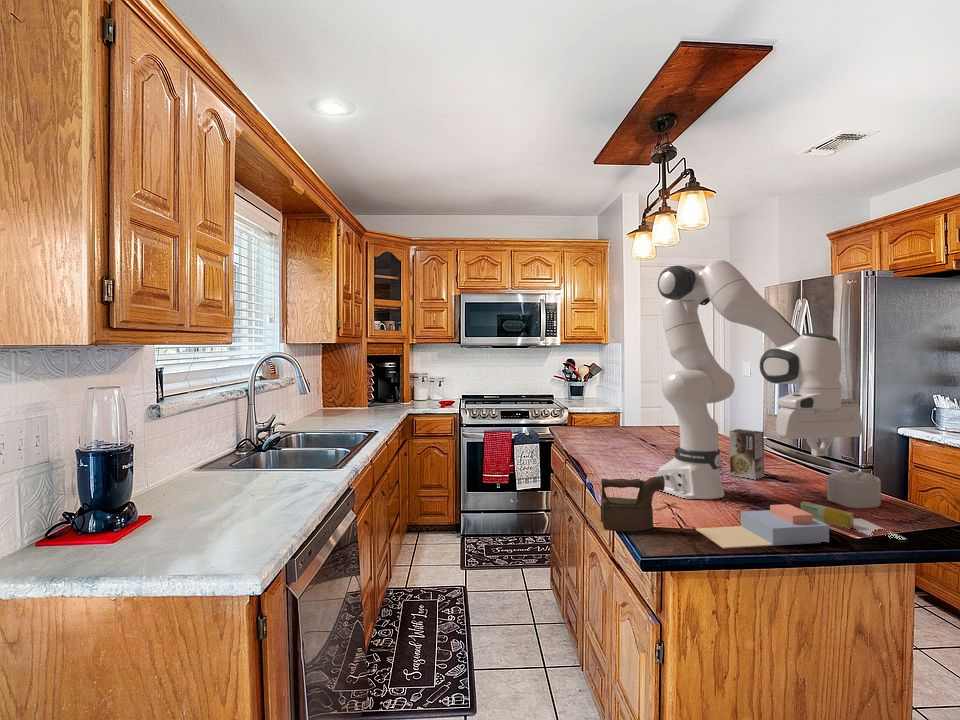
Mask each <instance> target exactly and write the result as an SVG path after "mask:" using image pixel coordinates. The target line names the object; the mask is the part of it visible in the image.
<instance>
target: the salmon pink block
mask: <svg viewBox="0 0 960 720" xmlns="http://www.w3.org/2000/svg"><path fill="white" fill-rule="evenodd" d="M769 510H770V513H771V514H773V515H775V516H777V517H779V518H781V519H784V520H786V521H788V522H790V523H792V524H803V523H813V515H812V514H810V513H808V512H805V511H803V510H801V509H799V507H796V506H793V505H791V504H788V503H787V504H786V503H784V504H783V503H782V504H769Z"/></svg>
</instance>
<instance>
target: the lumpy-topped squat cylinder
mask: <svg viewBox="0 0 960 720" xmlns="http://www.w3.org/2000/svg"><path fill="white" fill-rule="evenodd" d="M826 482H827V484H826V485H827V486H826V487H827V488H826V489H827V490H826V491H827V492H826V493H827V494H826V496H827V500H828V501H829V502H833V503H836V504H838V505H840V506H843V507H846V508H847V507H848V508H853V509H867V508H871V509H872V508H878V507H880V506H881V505H882V503H881V502H882V500H881V499H882V496H881V493H882V490H881V489H882V487H881V486H882V484H881V482H882V481H881V478H879V477H878V476H876V475H874V474H872V473H870V472H864V471H863V470H857V471H854V472H850V471H849V470H847V469H840V470H839V471H838V472H834V473H832V474H828V475H827V481H826Z"/></svg>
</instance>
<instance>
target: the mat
mask: <svg viewBox="0 0 960 720" xmlns="http://www.w3.org/2000/svg"><path fill="white" fill-rule="evenodd" d="M695 530H696V531H697V532H699V534H700V533H701V534H702V536H705V537H706V538H707V539H709V540H710V541H712V542H714V544H716V545H717V546H718V547H720V548H722V549H739V548H740V549H741V548H755V547H756V548H757V547H758V548H759V547H770V546H772V547H773V544H771V543H770V542H768V541H766V540H764V539H763V538H761V537H759V536H757V535H756V534H754V533H752V532H750V531H749V530H747V529H745V528H743V527H742V526H741V525H737V526H735V525H734V526H722V527H721V526H720V527H719V526H717V527H716V526H715V527H703V528H702V527H699V528H697V527H696V528H695Z"/></svg>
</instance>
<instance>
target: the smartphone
mask: <svg viewBox="0 0 960 720" xmlns="http://www.w3.org/2000/svg"><path fill="white" fill-rule="evenodd" d="M853 519H854V526H853V527H852V528H853V529H852V530H854V529H856V530H858V531H859V532H858V531H857V532H858V533H860V532H862V533H864V534H866V535H868V536H869V535H870V537H871V536H872V535H873V533H872V531H873V532H874V530H875V529H876V530H878V529H883V528H884V529H885V530H888V529H887V528H885V527H882V526H880V525H878V524H875V523H873V522H871V521H869V520H867V519H864V518H860V517H857V518H856V517H853ZM884 529H883V530H884ZM856 530H855V531H856ZM888 531H889V532H890V533H888V534H889V535H890V534H891V535H890V536H889V535H888V537H889V538H890V537H891V536H893V537H894V536H895V537H894V538H896V539H898V538H899V539H898V540H906V539H907V540H908V538H906V537H905V536H902V535H900V534H898V533H895V532H893V531H891V530H888ZM888 531H887V532H888ZM891 532H892V533H895V534H892V533H891ZM862 533H861V534H862ZM871 533H872V535H871ZM864 534H863V535H864ZM866 535H865V536H866ZM898 535H899V536H898ZM868 536H867V537H868ZM885 536H886V535H885ZM870 537H869V538H870ZM893 537H891V538H893ZM900 537H901V538H902V539H901V538H900ZM891 538H890V539H891Z"/></svg>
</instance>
